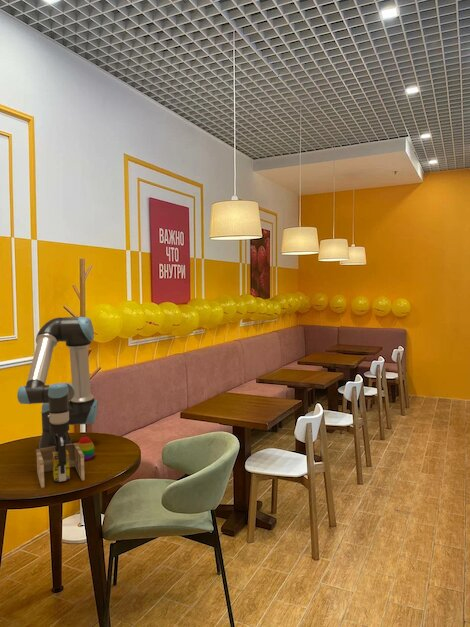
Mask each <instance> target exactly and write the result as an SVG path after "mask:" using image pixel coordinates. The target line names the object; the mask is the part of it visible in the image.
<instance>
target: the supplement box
mask: <svg viewBox="0 0 470 627" xmlns="http://www.w3.org/2000/svg"><path fill="white" fill-rule="evenodd" d="M52 461H53V471H52V478H53V482H54V483H60V482H59V470H58V466H57V465H59V459H58V451H57V452H52ZM66 463H67V464H66V481H70V480H71V474H70V473H71V472H70V468H71V467H70V468H69V453H68V451H67V450H66Z"/></svg>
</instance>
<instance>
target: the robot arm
mask: <svg viewBox="0 0 470 627" xmlns="http://www.w3.org/2000/svg"><path fill="white" fill-rule="evenodd" d="M94 333H95V332H94V326H93V323H92V320H91V319H90V318H89V317H87V316H68V317H67V316H66V317H55V318H54V317H53V318H52V319H49V320H48V321H47V322H46V323H44V324H43V325H42V326H41V328H40V329H39V331H38V332H37V335H36V336H35V337H36V338H35V343H36V347H35V350H34V354H33V358H32V361H31V365H30V369H29V372H28V375H27V376H28V377H27V379H26V383H25V385H20V386H19V388H18V389H17V393H16V397H17V402H18V403H19V404H21V405H34V404H41V412H40V413H41V428H42V429H41V430H42V432H41V435H40V439H39V443H38V449H39V448H46V447H52V446H55V449H56V452H57V451H58V459H59V465H57V466H58V470H59V482H58V483H61V482H65V481H67V480H66V464H67V463H66V448H65V447H66V444H72V438H71V436H70V433H69V431H70V426H71V425H72V426H73V425H75V426H77V425H88V424H94V423H95V422H96V418H97V415H98V406H99V401H98V400H97V399H95V395H94V394H93V393H92V392H91V380H90V360H89V346H90V345H91V344H92V343H91V342H92V341H93V340H94V339H95V334H94ZM60 342H62V343H63V342H65V346H66V348H68V349H69V360H70V361H69V362H70V374H71V383H69V382H57V383H52V384H46V382H47V377H48V373H49V368H50V365H51V361H52V358H53V352H54V348H56V346H57V345H58V343H60Z"/></svg>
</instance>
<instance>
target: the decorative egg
mask: <svg viewBox="0 0 470 627" xmlns="http://www.w3.org/2000/svg"><path fill="white" fill-rule="evenodd" d="M76 443H77V444H78V446H79V448H80V449H81V451H82V453H83V454H84V461H89V460H91V459H92V458H93V456H95V455H94V454H95V444H94V443H93V441H92V440H91V438H90V437H88V436H82V437H81V438H80V439H79V440H78V442H76Z"/></svg>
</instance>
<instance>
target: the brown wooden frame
mask: <svg viewBox="0 0 470 627" xmlns="http://www.w3.org/2000/svg"><path fill="white" fill-rule="evenodd" d="M77 443H78V442H74V443H72V442H71V444H66V447H65V448H66V450H67V451H68V453H69V468H75V470H76V472H77V475H78V476H79V478H80V480H81V481H85V479H86V478H85V460H84V454H83V453H82V451H81V449H80V448H79V446H78V444H77ZM52 452H56V449H55V446H52V447H46V448H39V447H38V448H36V449H35V453H36V456H35V457H36V474H37V478H38V482H39V485H40V488H41V489H43V488H45V473H46V472H53V461H52Z"/></svg>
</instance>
